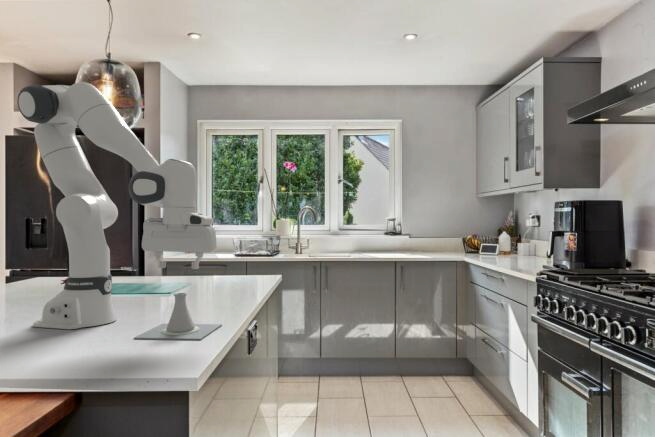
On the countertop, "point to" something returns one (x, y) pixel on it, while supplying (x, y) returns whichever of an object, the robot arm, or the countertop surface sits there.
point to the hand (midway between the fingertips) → (178, 268)
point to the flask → (180, 315)
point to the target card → (179, 333)
